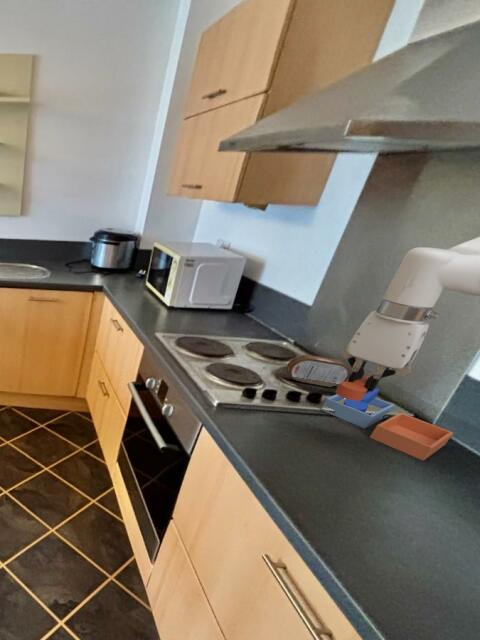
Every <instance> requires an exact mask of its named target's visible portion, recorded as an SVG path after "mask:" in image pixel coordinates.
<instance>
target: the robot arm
mask: <svg viewBox="0 0 480 640" xmlns="http://www.w3.org/2000/svg"><path fill="white" fill-rule="evenodd" d="M446 290H447V291H452V292H457V293H461V294H465V295H470V296H475V297H480V236H477V237H475V238H472V239H469V240H467V241H463V242H462V243H459V244H457V245H454V246H452V247H449V248H446V249H445V248H438V247H437V248H436V247H429V246H428V247H427V246H425V247H424V246H421V247H420V246H418V247H414V248H411V249H410V250H408V251H407V253H406V254H405V255H404V257H403V259H402V261H401V263H400V264H399V267H398V268H397V270H396V272H395V274H394V276H393V278H392V280H391V281H390V283H389V285H388V288H387V290H386V291H385V293H384V295H383V296H382V298H381V300H380V302H379V305H378V306H377V308H376V310H373V311H371V312H370V313H369V314H368V315H367V316H366V317H365V319H364V320H363V322H362V323H361V324H360V326H359V327H358V329H357V330H356V332H355V333H354V335H352V338H351V339H350V341H349V343H348V344H347V346H346V347H344V349H342V350H341V351H340V352H339V356H341V357H342V358H343V359H345V360H347V362H348V364H349V366H350V368H351V371H352V372H351V373H350V376H349V378H348V379H347V381H346V382H352V383H353V382H354V381H355V380H358V379H361V378H363V377H364V376H365V371H364V370H365V367H366V365H367V363H368V362H369V363H373V364H375V365H378V367H377V368H376V370H375V371H374V373H373V374H371V376H370V377H369V378H368V379H367V381H366V383H365V385H364V387H365V388H366V389H367V392H366V393H368V392H369V391H371V392H372V391H373V390H374V389H375V388H377V386H378V384H379V382H380V381H381V379H384V378H387V377H391V376H397V377H406V376H407V377H408V376H409V375H411V373H412V363H413V361H414V360H415V358H416V356H417V355H418V353H419V350H420V348H421V346H422V345H423V342H424V340H425V337H426V335H427V333H428V329H429V327H430V323H429V322H427V320H434V321H437V320H438V319H439V317H440V315H441V313H440V312H436V311H434V308H435V307H434V306H435V304H436V303H437V301H438V300H439V298H440V296H441V294H442V293H443V291H446ZM366 393H365V394H366Z"/></svg>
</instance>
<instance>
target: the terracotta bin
mask: <svg viewBox="0 0 480 640" xmlns="http://www.w3.org/2000/svg"><path fill="white" fill-rule="evenodd" d="M453 435H454V432H453V431H450V430H447V429H445V428H443V427H440V426H437V425H434V424H432V423H430V422H426V421H424V420H422V419H419V418H416V417H413V416H411V415H408V414H405V413H403V412H399V413H397V414H395V415H393V416H391V417H390V418H388V419H386V420H384V421H382V422H381V423H379V424H377V425H376V426H375V428H374V430H373V431H372V433H371V434H370V436H369V438H370V439H372V440H374V441H376V442H379V443H382V444H384V445H385V446H389V447H391V448H393V449H395V450H397V451H400V452H402V453H404V454H406V455H409V456H411V457H414V458H415V459H418V460H420V461H425V460H427V458H429V457H430V456H432V455H433V454H435V453H436V452H437V451H439V450H440V449H441V448H443V447H444V446H445V445H446V444H447V443H448V441H449V440H450V439H451V437H452V436H453Z"/></svg>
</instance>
